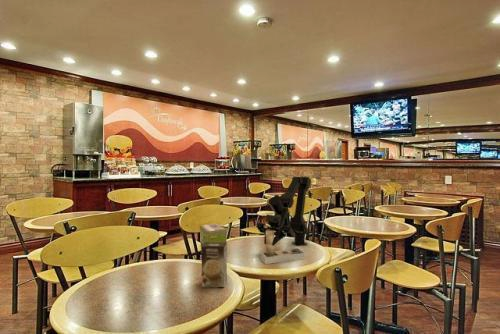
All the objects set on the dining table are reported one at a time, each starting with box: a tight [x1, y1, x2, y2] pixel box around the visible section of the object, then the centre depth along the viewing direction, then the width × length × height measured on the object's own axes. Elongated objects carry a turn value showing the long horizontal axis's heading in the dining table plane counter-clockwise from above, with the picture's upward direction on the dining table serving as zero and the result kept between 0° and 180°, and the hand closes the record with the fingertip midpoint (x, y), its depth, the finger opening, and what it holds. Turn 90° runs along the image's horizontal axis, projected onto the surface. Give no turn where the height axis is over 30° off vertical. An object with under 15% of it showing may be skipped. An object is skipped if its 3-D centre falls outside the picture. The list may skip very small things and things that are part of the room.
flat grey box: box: [259, 248, 306, 265], centre depth 143 cm, size 8×20×3 cm, turn 106°
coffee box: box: [200, 242, 228, 288], centre depth 115 cm, size 9×6×16 cm
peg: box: [265, 230, 276, 257], centre depth 141 cm, size 4×4×13 cm
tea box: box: [199, 223, 228, 254], centre depth 152 cm, size 15×10×15 cm, turn 25°
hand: (268, 244), depth 140 cm, fingers closed on peg, 4 cm apart
